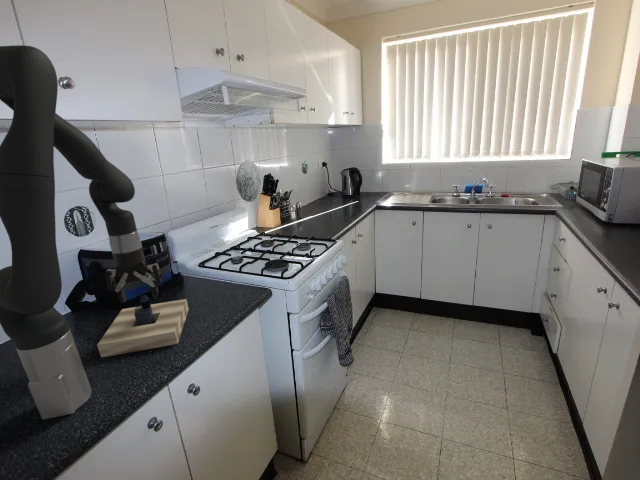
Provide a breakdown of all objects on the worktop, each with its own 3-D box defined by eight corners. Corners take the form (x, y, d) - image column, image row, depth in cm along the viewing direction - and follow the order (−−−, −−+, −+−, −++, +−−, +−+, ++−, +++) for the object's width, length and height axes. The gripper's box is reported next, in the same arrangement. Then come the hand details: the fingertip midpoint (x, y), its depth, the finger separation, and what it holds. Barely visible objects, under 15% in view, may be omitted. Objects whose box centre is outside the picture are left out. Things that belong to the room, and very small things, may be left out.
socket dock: (177, 343, 96) (174, 331, 94) (101, 357, 92) (97, 345, 91) (188, 309, 114) (186, 299, 113) (125, 319, 111) (122, 309, 110)
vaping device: (154, 333, 102) (145, 297, 98) (137, 333, 102) (128, 298, 98) (158, 328, 104) (149, 293, 100) (142, 329, 105) (133, 294, 101)
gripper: (93, 255, 90) (108, 309, 95) (150, 248, 93) (162, 301, 97) (104, 247, 97) (118, 297, 102) (156, 240, 100) (167, 290, 104)
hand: (139, 299), depth 100 cm, fingers open, 8 cm apart
